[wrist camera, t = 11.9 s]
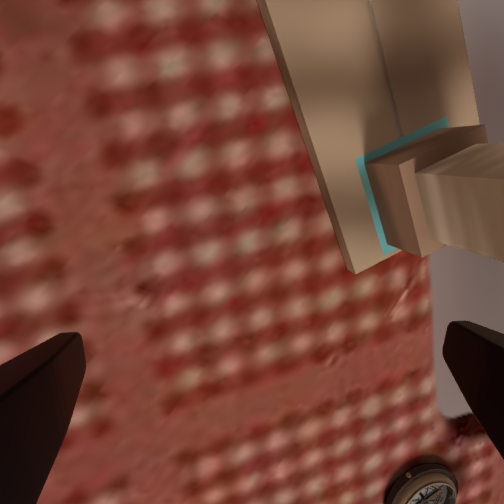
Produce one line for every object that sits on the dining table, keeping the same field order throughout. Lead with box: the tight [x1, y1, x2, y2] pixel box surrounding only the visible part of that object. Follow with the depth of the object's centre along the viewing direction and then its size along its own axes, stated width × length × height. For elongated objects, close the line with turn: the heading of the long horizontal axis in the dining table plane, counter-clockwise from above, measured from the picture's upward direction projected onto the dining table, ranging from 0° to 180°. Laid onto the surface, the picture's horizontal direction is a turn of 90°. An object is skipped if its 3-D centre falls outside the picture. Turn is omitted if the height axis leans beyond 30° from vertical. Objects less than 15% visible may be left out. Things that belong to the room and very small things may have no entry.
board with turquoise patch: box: [257, 0, 480, 274], centre depth 20 cm, size 20×10×1 cm, turn 23°
